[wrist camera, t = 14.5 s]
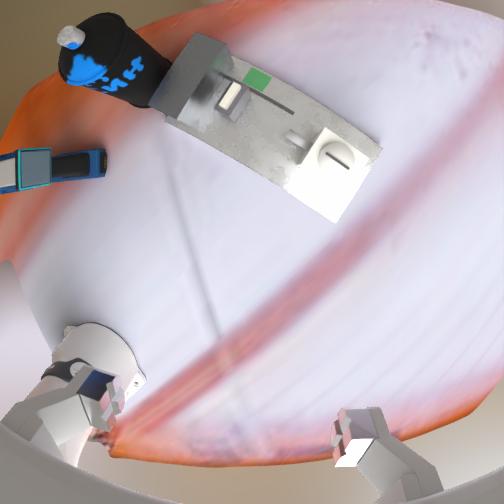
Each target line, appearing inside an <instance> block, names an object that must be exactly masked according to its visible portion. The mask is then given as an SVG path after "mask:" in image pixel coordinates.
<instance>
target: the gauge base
mask: <svg viewBox="0 0 504 504" xmlns="http://www.w3.org/2000/svg"><path fill="white" fill-rule="evenodd" d="M232 79H234V80H236V81H238V82H240V83H242V84H244V85H246V86H248V87H249V90H250V94H251V98H250V100H249V101H248V103H247V105H246V106H245V108H244V109H243V111H242V112H241V114H240V115H239V117H238V118H237V120H236V121H235V123H234V122H232V121H230V120H228V119H226V118H224V117H223V116H221V115H220V114H219V113H218V112H217V111H216V110H215V109H214V107H215V105H216V103H217V102H218V100H219V99H220V97H221V96H222V94H223V93H224V91H225V90H226V88H227V87H228V85H229V84H230V82H231V81H232ZM148 106H150V107H152V108H154V109H156V110H159V111H161V112H163V113H164V114H166V115H168V116H167V117H166V119H165V121H166V122H168V123H170V124H171V125H173V126H175V127H177V128H179V129H181V130H183V131H185V132H187V133H188V134H190V135H192V136H194V137H196V138H198V139H199V140H201V141H203V142H205V143H207V144H208V145H210V146H212V147H214V148H216V149H217V150H219V151H221V152H223V153H224V154H226V155H228V156H230V157H231V158H233V159H235V160H236V161H238V162H240V163H241V164H243V165H245V166H247V167H248V168H250V169H252V170H253V171H255V172H257V173H258V174H260V175H261V176H263V177H265V178H266V179H268V180H270V181H271V182H273V183H274V184H276V185H278V186H279V187H281V188H282V189H284V190H286V191H287V192H289V193H290V194H292V195H293V196H295V197H297V198H298V199H300V200H301V201H303V202H304V203H306V204H307V205H309V206H310V207H312V208H313V209H315V210H316V211H318V212H319V213H321V214H322V215H324V216H325V217H327V218H328V219H330V220H331V221H333V222H334V223H336V221H337V220H338V218H339V217H340V215H341V214H342V212H343V211H344V209H345V208H346V206H347V205H348V203H349V202H350V200H351V199H352V197H353V196H354V194H355V193H356V191H357V189H358V188H359V186H360V185H361V183H362V182H363V180H364V178H365V177H366V175H367V174H368V172H369V171H370V169H371V167H372V166H373V164H374V163H375V161H376V159H377V158H378V156H379V154H380V153H381V151H382V150H383V148H382V147H380V146H379V145H378V144H377V143H375V142H374V141H373V140H371V139H370V138H369V137H367V136H366V135H365V134H363V133H362V132H361V131H359V130H358V129H357V128H355V127H354V126H352V125H351V124H350V123H348V122H347V121H345V120H344V119H342V118H341V117H340V116H338V115H337V114H335V113H334V112H332V111H331V110H329V109H328V108H326V107H324V106H323V105H321V104H320V103H318V102H317V101H315V100H314V99H312V98H310V97H309V96H307V95H305V94H304V93H302V92H300V91H299V90H297V89H295V88H294V87H292V86H290V85H288V84H287V83H285V82H283V81H281V80H280V79H278V78H276V77H274V76H272V75H270V74H268V73H267V72H265V71H263V70H261V69H259V68H257V67H255V66H253V65H251V64H249V63H247V62H245V61H243V60H241V59H238V58H236V57H234V56H232V55H231V54H230V52H229V49H228V46H227V44H225V43H223V42H221V41H218V40H216V39H214V38H211V37H209V36H206V35H203V34H201V33H198V32H195V34H194V35H193V36H192V38H191V39H190V40H189V42H188V43H187V45H186V46H185V47H184V49H183V50H182V52H181V53H180V54H179V56H178V57H177V59H176V60H175V62H174V63H173V65H172V66H171V68H170V69H169V71H168V72H167V74H166V75H165V77H164V78H163V80H162V82H161V83H160V85H159V86H158V88H157V90H156V91H155V93H154V95H153V96H152V98H151V100H150V101H149V103H148ZM324 127H326V128H327V129H329V130H330V131H332V132H333V133H335V134H336V135H338V136H339V137H340V138H342V139H343V140H345V141H346V142H347V143H349V144H350V145H352V146H353V147H354V148H356V149H357V150H359V151H360V152H361V153H363V154H364V155H365V156H367V157H368V158H369V160H368V162H367V164H366V165H365V167H364V168H363V170H362V171H361V173H360V175H359V176H358V178H357V179H356V181H355V182H354V184H353V186H352V187H351V189H350V190H349V192H348V193H347V195H344V194H342V193H340V192H337V191H335V190H334V189H332V188H331V187H330V186H328V185H327V184H325V183H324V182H322V181H321V180H319V179H318V178H316V177H315V176H313V175H312V174H310V173H309V172H307V171H306V170H304V169H303V168H301V167H300V166H298V165H297V163H298V162H299V160H300V159H301V157H302V155H303V154H304V152H305V151H306V150H305V149H303V148H302V147H300V146H298V145H297V144H295V143H294V142H292V141H291V140H289V139H287V138H286V137H285V136H286V135H287V133H288V132H289V130H290V129H292V130H294V131H295V132H297V133H298V134H300V135H302V136H303V137H305V138H306V139H308V140H309V141H311V142H312V140H313V138H314V137H315V135H316V134H317V132H318V131H320V130H321V129H323V128H324Z"/></svg>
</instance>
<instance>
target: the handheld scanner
mask: <svg viewBox="0 0 504 504" xmlns="http://www.w3.org/2000/svg"><path fill="white" fill-rule="evenodd" d="M106 170H107V155H106V153H105V150H104V149H94V150H87V151H80V152H73V153H67V154H61V155H56V156H51V148H50V147H48V148H27V149H18V150H16V151H14V152H12V153H9V154H5V155H0V194H5V193H11V192H18V191H23V190H28V189H32V188H35V187H41V186H46V185H51V183H52V182H60V181H69V180H79V179H89V178H99V177H104V176H105V173H106Z"/></svg>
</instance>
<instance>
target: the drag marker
mask: <svg viewBox="0 0 504 504" xmlns="http://www.w3.org/2000/svg"><path fill="white" fill-rule="evenodd" d="M250 98H251V94H250V90H249V87H248V86H246V85H244V84H242V83H240V82H238V81H236V80H234V79H232V81H231V82H230V84H229V85H228V87H227V88H226V90H225V91H224V93H223V94H222V96H221V97H220V99H219V100H218V102H217V103H216V105H215V107H214V109H215V110H216V111H217V112H218V113H219V114H220V115H221V116H223V117H224V118H226V119H228V120H230V121H232V122H234V123H235V121H236V120H237V118H238V117H239V115H240V114H241V112H242V111H243V109H244V108H245V106H246V105H247V103H248V101H249V100H250Z"/></svg>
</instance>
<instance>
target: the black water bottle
mask: <svg viewBox="0 0 504 504" xmlns="http://www.w3.org/2000/svg"><path fill="white" fill-rule="evenodd" d="M57 42H58V44H60V45H62V48H61V51H60V56H59V63H58V65H59V66H58V67H59V72H60V75H61V77H62V79H63V80H64V81H65V82H67V83H68V84H70V85H73V86H81V85H82V86H85V87H88V88H91V89H94V90H97V91H100V92H103V93H105V94H108V95H111V96H114V97H116V98H119V99H122V100H125V101H127V102H129V103H130V104H132V105H133V106H135V107H138V108H150V106H148V103H149V101H150V100H151V98H152V96H153V95H154V93H155V91H156V90H157V88H158V86H159V85H160V83H161V82H162V80H163V78H164V77H165V75H166V74H167V72H168V71H169V69H170V68H171V66H172V65H173V64H172V63H171V62H170V61H169V60H168V59H166V58H164V57H162V56H161V55H160V54H159V53H158V52H157V51H156V50H155V49H153V48H152V47H151V46H150V45H149V44H148V43H147V42H146V41H144V40H143V39H142V38H141V37H140V36H139V35H138V34H136V33H135V32H134V31H133V30H132V29H131V28H129V27H128V26H127V25H126V23H125V21H124V20H123V18H122V17H121V16H119V15H117V14H114V13H109V12H108V13H100V14H96V15H94V16H92V17H90V18H88V19H86V20H85V21H83V22H82V23H80V24H79V25H77V26H76V27H74V26H72V25H68V26H66V27H65V28H63V29H62V30H61V32H60V33H59V35H58V37H57Z"/></svg>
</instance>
